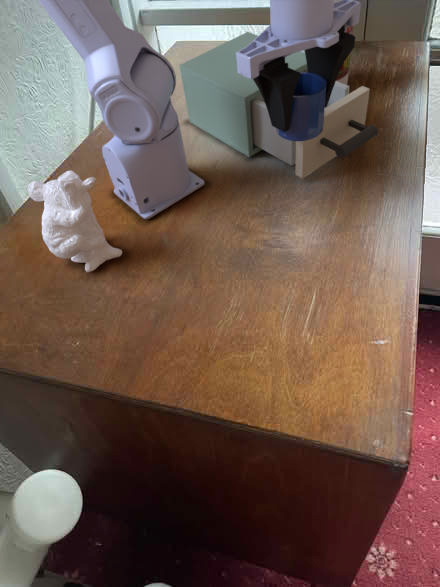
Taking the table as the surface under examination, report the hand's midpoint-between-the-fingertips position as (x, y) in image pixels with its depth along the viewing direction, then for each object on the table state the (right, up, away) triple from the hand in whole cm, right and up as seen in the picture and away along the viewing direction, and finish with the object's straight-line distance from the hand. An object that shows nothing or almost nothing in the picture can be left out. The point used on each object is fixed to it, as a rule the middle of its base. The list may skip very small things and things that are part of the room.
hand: (299, 116), depth 50 cm
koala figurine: (-23, -15, +4) cm, 28 cm away
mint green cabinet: (-4, +6, +18) cm, 20 cm away
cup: (0, -1, +1) cm, 1 cm away
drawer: (+3, 0, +11) cm, 11 cm away
